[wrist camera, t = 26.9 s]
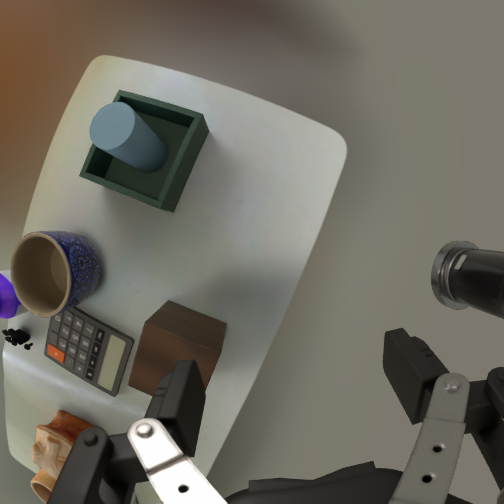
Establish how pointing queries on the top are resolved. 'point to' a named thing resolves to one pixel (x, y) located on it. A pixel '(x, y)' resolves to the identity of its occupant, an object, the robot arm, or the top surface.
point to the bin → (178, 160)
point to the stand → (175, 345)
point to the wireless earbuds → (17, 337)
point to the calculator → (88, 349)
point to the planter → (54, 271)
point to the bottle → (9, 297)
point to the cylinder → (128, 137)
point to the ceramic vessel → (53, 450)
